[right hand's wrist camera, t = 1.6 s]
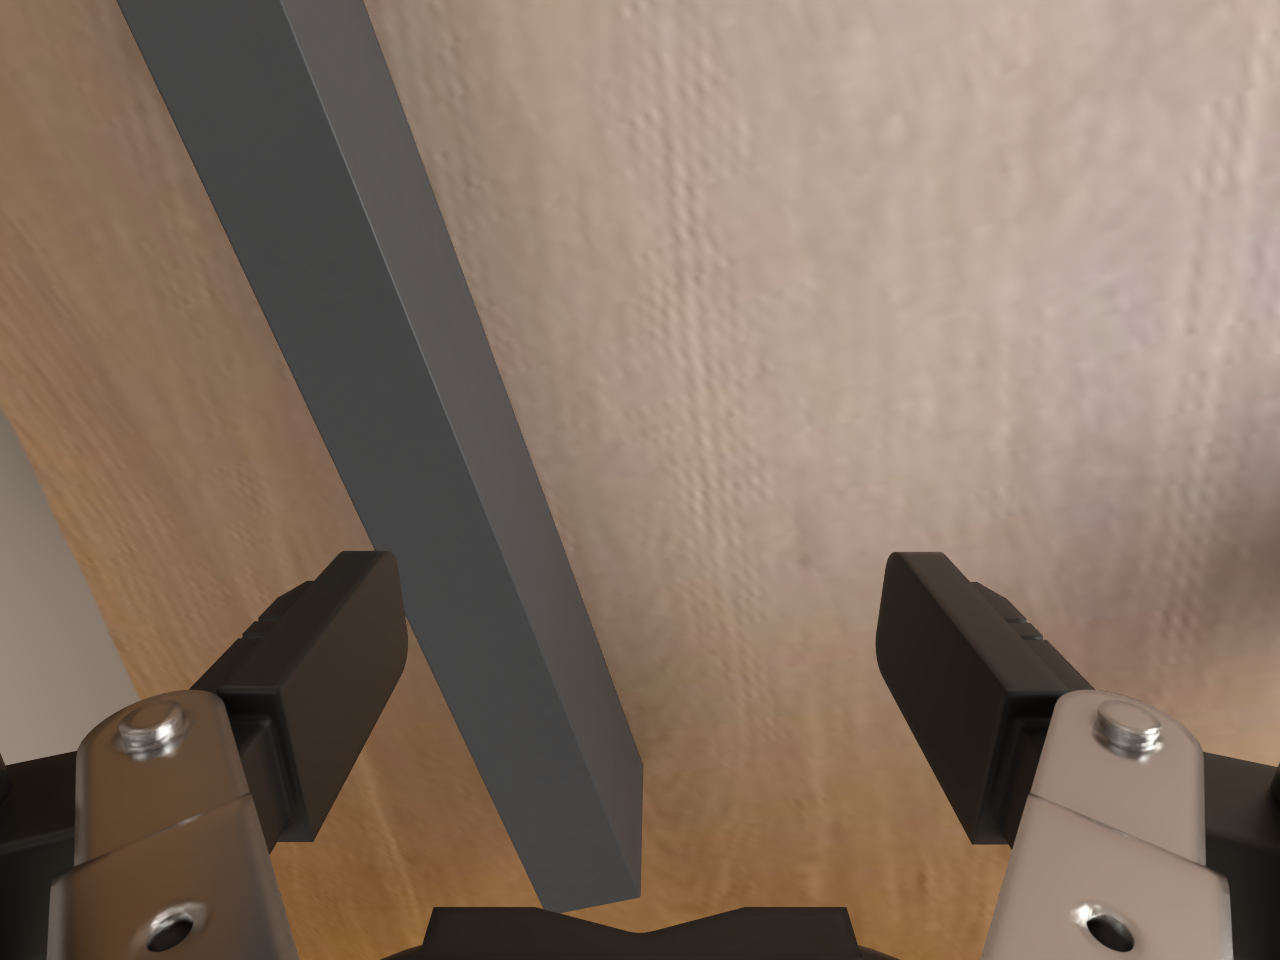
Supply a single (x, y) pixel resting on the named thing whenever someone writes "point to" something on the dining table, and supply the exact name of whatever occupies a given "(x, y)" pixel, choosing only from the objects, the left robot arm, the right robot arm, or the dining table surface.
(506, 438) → the bar
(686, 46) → the dining table surface
